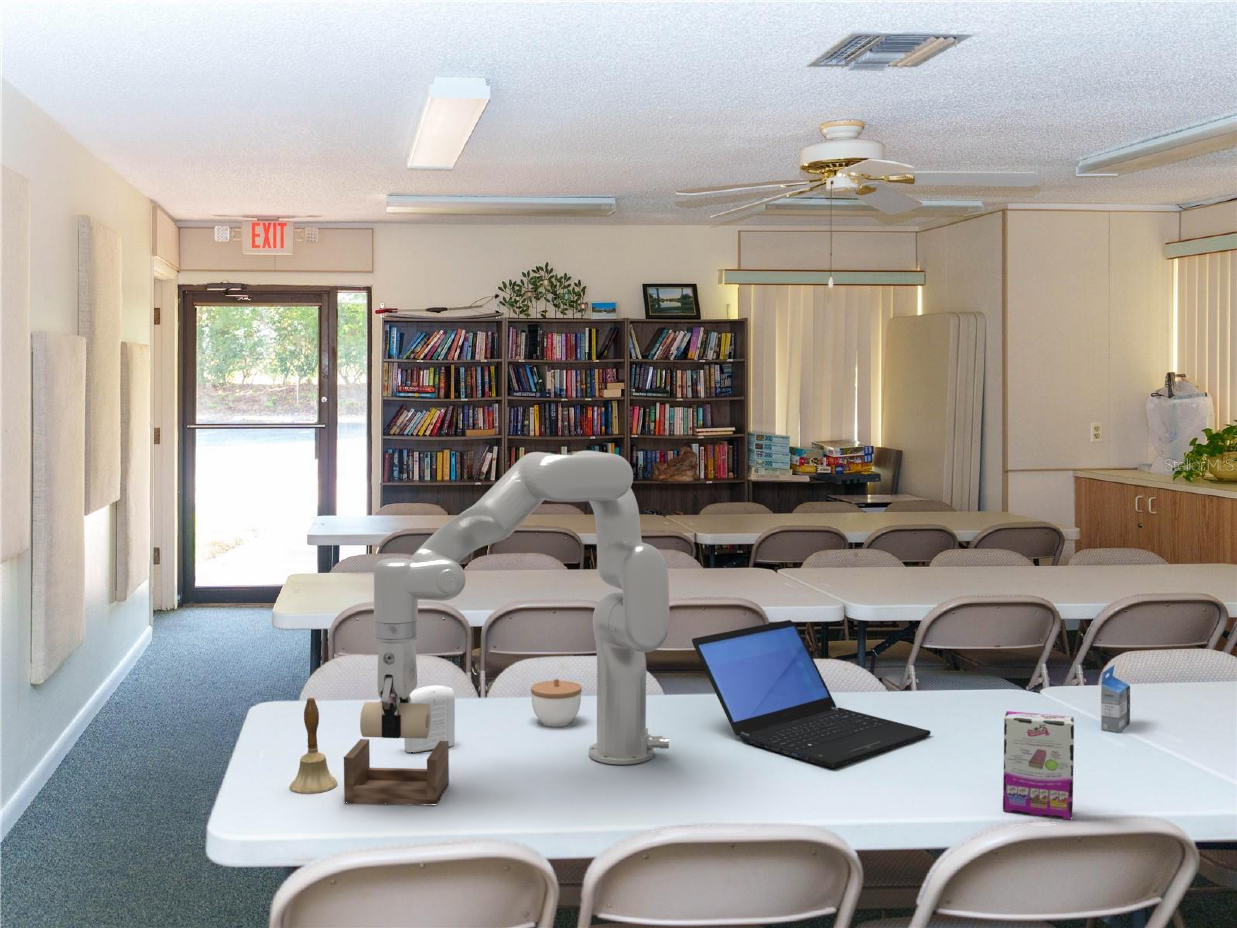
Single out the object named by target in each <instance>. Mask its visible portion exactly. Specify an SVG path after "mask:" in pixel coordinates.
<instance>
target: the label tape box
mask: <svg viewBox="0 0 1237 928" xmlns="http://www.w3.org/2000/svg"><path fill="white" fill-rule="evenodd" d="M1115 667H1116V665H1111V666H1110V667H1109V668H1107V669H1105V670H1104V671H1103V672H1102V673H1101V680H1100V681H1101V682H1100V689H1101V691H1100V692H1101V694H1100V703H1101V704H1100V709H1101V710H1100V715H1101V716H1100V719H1101V720H1100V722H1101V723H1100V724H1101V725H1100V727H1101V731H1104V732H1109V733H1118V734H1121V733H1122V731H1124V729H1126V728H1127V726H1128V725H1129V724H1131V686H1130V684H1128V683H1126V682H1124V681H1123V680H1121V679H1119V678H1117V677H1115V676H1114V671H1115ZM1107 675H1108V676H1107ZM1106 676H1107V677H1106Z"/></svg>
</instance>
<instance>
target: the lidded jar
mask: <svg viewBox="0 0 1237 928" xmlns="http://www.w3.org/2000/svg"><path fill="white" fill-rule="evenodd" d="M582 691H583V687H582V685H580V684H579V683H577V682H574V681H567V680H559V678H554V679H553V680H548V681H547V680H546V681H545V680H544V681H541V682H537V683H535V684H533V685H531V687H530V693H531V705H532V708H533V709H532V710H533V712H534V714H535V716H536V717H537V718H538V720H539V721H541V723H542V725H543V726H546V727H553V728H554V727H555V728H556V727H557V728H558V727H566V726H569V725H570V724H571V722H572V721H573V720H574V719H575V718H576V717H577V716H578V713H579V712H580V708H581V702H582Z"/></svg>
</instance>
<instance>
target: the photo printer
mask: <svg viewBox="0 0 1237 928" xmlns="http://www.w3.org/2000/svg"><path fill="white" fill-rule="evenodd" d="M410 703H426V704H429V705H430V710H431V723H430V731H429V735H428V737H427V738H426V739H419V738H404V751H405V752H406V753H409V752H410V753H411V752H413V753H419V752H425V751H430V750H434V748H435V747H436V745H437V744H438V743H439V741H449V747H453V746H455V743H456V742H455V740H456V738H455V735H456V734H455V733H456V732H455V730H456V729H455V726H456V725H455V721H456V720H455V719H456V714H455V713H456V705H455V703H456V698H455V691H454V690H453V688H451V687H449V686H445V685H435V684H434V685H427V686H423V687H418V688H415V689H414V690H413V692H412V693H411V694H410ZM410 753H409V754H410ZM411 754H412V753H411Z"/></svg>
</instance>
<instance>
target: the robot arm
mask: <svg viewBox="0 0 1237 928" xmlns="http://www.w3.org/2000/svg"><path fill="white" fill-rule="evenodd" d="M633 481H634V472H633V468H632V465H631V464H630V463H629V462H628V461H627V459H625V458H624V457H623V456H621V455H619V454H616V453H609V452H603V451H596V450H580V451H576V452H575V453H573V454H556V453H549V452H543V451H533V452H528V453H526V454H525V455H523V456H522V457H520V458H519V459H518V460H517V461H516V462H515V463H514V464H513V465H512V466H511V467H510V468H509V469H508V470H507V471H506V472H505V473H504V474H503V475H502V477H500V478H499V480H497V481H496V483H494V484H493V486H492V487H491V488H490V489H488V490H487V492H485V494H484V495H483V496H481V497H480V499H479V500H478V501H477V502H476V503H474V504H472V506H470V507H469V508H467V509H465V510H464V511H463V512H461V513H459V514H458V515H457V516H455V517H453V518H452V519H450V520H449V521H448V522H446V523H445V524H443V525H442V526H441V527H440V528H438V529H437V530H436V531H435V532H434V533H433V534H432V535H430V537H429V538H428V539H427V540H425V542H424V543H423V544H422V545H421V546H420V547H419V548H417V550H415V552H414V553H413V554H412V556H411V557H410V559H409V558H403V557H402V558H401V557H399V558H398V557H394V558H384V559H381V560H378V561H377V562H376V563H375V565H374V568H373V640H374V641H375V642H378V652H377V654H378V657H377V695H378V697H379V698H380V701H381V702H382V737H381V738H382V739H401V738H400V736H401V715H399V706H400V703H410V694H411V693H412V692H413V690H415V689H417V685H418V671H417V670H418V666H417V650H416V649H417V647H416V640H417V639H418V638H419V630H418V629H419V621H418V619H419V617H418V616H419V610H418V609H419V602H418V601H419V600H423V601H424V600H426V601H438V602H444V601H448V600H453V599H454V598H456V597H457V596H459V595H460V594H461V593H462V591H463V590H464V587H465V586H466V581H467V579H466V573H465V571H464V568H463V566H462V565H460V564H459V563H460V562H461V561H463V559H465V558H466V557H467V556H469V555H470V554H471V553H473V552H475V551H477V550H478V549H480V548H482V547H485V546H488V545H493V544H495V543H497V542H501V541H503V540H506V538H508V537H510V536H511V535H512V534H513V533H514V532H516V530H517V529H518V528H519V527H520V526H521V525H522V524H523V523H524V522H525V521H526V520H527V519H528V518H529V516H530V515H531V514H533V512H534V511H535V510H536V509H538V507H539V506H540V505H542V503H543V502H544V501H549V502H558V503H559V502H560V503H575V502H576V503H581V502H582V503H583V502H589V505H590V506H591V509H592V512H593V514H594V521H595V529H596V530H595V531H596V533H595V534H596V537H595V538H596V561H597V562H596V565H597V573H598V575H599V577H600V579H601V580H602V581H603V582H605V584H607V585H610V586H611V587H614V588H616V589H621V591H622V592H612V593H609V594H607V595H604V596H603V597H602V598H601V599H600V600H599V601H598V602H597V603H596V606H595V608H594V609H593V615H592V629H593V635H594V641H595V648H596V649H595V650H596V671H597V672H596V673H597V674H596V743H593V744H592V745H591V746H589V747H588V756H589V757H590V758H591V759H592V760H594V761H596V762H599V763H603V764H608V765H624V766H625V765H634V764H635V765H636V764H640V763H644V762H648V761H650V760H651V759H652V758H653V757H654V753H655V752H654V749H655V748H656V749H663V750H664V749H669V747H670V738H665V737H664V736H663V735H652V734H651V733H650V734H649V728H647V714H646V713H647V659H646V653H650V652H654V651H655V650H657V649H659V648H660V647H661V646H662V645H663V644H664V642H665V641H666V639H667V637H668V633H669V628H670V587H669V585H670V583H669V582H670V581H669V569H668V566H667V563H666V560H665V557H664V556H663V554H662V553H661V552H660V550H658V549H657V548H656V547H655V546H654V545H652V544H649V543H646V542H643V541H642V532H641V531H642V529H641V521H640V520H641V519H640V512H639V511H640V510H639V505H638V502H637V499H636V496H635V493H634V491H633V489H632V484H633ZM391 694H393V697H391ZM381 698H382V699H381ZM391 701H393V702H394V703H395V707H394V704H393V703H391Z"/></svg>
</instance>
